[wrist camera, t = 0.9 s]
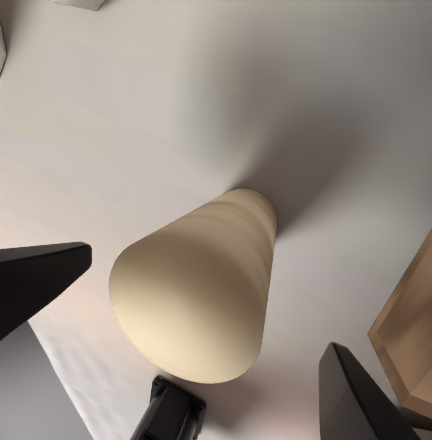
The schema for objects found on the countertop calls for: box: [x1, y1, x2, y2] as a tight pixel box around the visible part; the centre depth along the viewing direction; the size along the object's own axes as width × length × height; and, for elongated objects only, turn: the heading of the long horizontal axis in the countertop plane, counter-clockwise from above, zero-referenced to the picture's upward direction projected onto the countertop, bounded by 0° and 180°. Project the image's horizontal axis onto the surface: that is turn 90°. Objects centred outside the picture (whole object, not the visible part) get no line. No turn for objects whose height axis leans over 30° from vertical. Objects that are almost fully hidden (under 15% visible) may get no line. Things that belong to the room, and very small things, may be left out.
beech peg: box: [109, 188, 277, 384], centre depth 11 cm, size 5×5×10 cm
